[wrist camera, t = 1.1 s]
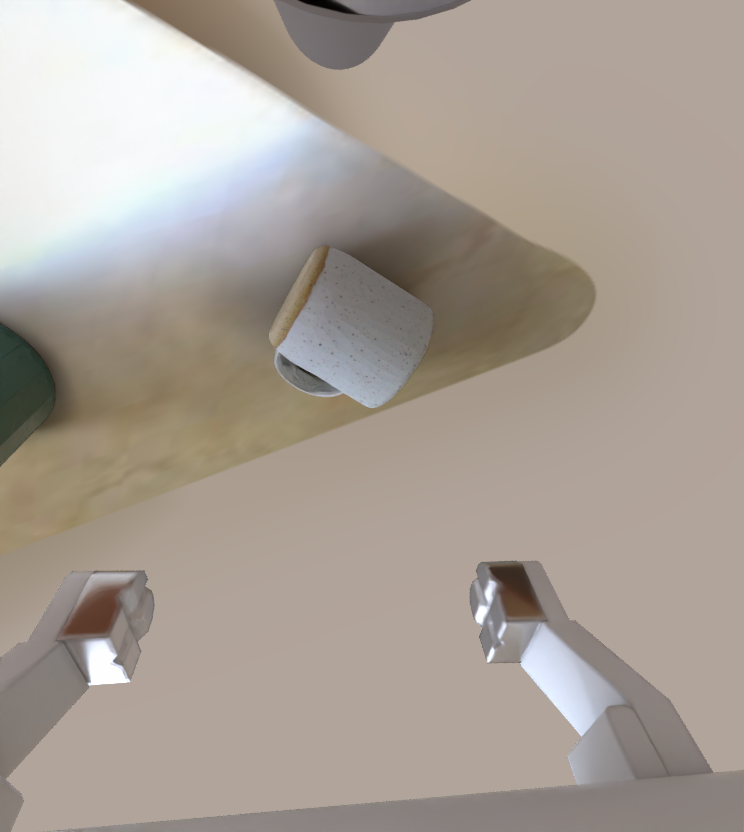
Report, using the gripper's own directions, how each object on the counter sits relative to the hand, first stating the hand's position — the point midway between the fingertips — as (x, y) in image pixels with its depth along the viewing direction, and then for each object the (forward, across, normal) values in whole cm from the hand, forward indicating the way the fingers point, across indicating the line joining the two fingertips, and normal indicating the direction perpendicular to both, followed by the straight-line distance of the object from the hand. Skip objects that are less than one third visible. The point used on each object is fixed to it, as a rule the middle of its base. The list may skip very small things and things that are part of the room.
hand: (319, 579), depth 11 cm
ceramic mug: (+23, -1, +2) cm, 23 cm away
